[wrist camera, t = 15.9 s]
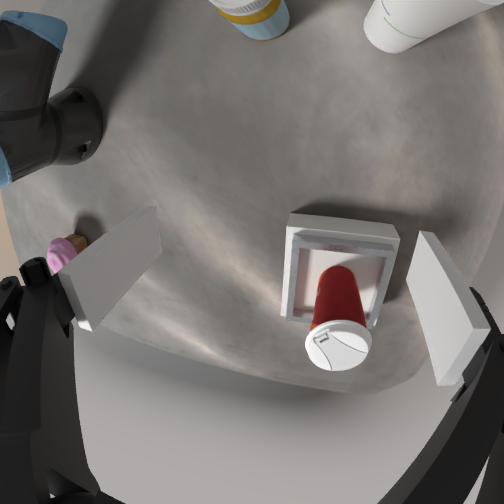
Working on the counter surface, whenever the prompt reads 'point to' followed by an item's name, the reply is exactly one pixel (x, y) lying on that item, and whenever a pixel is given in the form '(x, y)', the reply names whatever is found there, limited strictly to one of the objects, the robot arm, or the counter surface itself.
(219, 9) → the bottle
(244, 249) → the counter surface
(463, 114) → the counter surface
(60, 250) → the cupcake
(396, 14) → the cylindrical container
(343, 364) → the paper cup
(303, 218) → the square tray
